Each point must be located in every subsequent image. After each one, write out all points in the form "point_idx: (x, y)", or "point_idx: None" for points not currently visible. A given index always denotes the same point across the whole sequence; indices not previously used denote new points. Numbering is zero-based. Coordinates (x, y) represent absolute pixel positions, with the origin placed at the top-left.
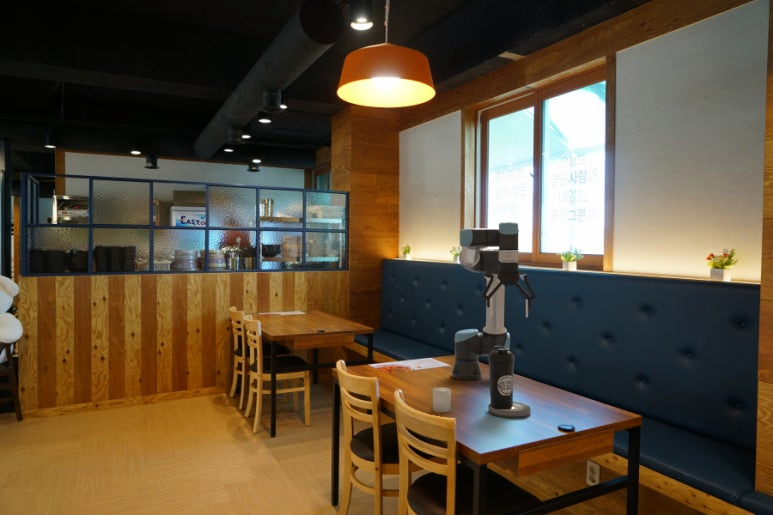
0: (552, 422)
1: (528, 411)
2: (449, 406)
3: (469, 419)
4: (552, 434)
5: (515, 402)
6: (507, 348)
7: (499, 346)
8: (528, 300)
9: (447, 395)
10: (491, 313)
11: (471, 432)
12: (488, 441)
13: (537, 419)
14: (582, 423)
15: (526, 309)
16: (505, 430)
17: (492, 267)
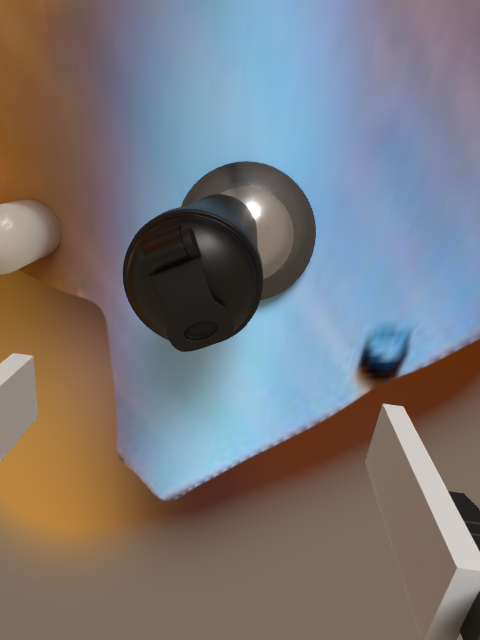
0: (359, 316)
1: (302, 272)
2: (52, 245)
3: (126, 311)
4: (333, 401)
5: (274, 178)
6: (220, 309)
7: (175, 257)
8: (468, 627)
9: (27, 262)
10: (20, 435)
11: (138, 402)
12: (178, 448)
13: (322, 294)
14: (444, 317)
15: (391, 527)
16: (221, 384)
17: None
